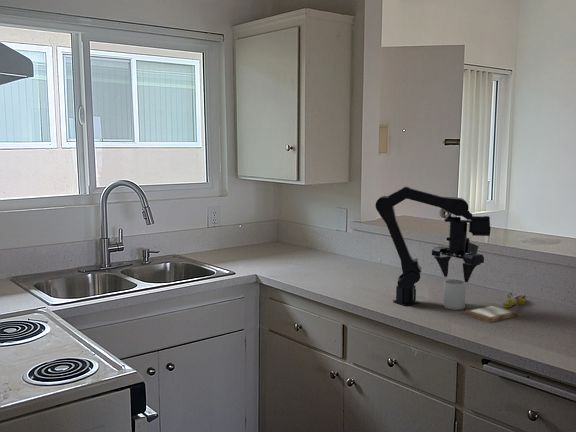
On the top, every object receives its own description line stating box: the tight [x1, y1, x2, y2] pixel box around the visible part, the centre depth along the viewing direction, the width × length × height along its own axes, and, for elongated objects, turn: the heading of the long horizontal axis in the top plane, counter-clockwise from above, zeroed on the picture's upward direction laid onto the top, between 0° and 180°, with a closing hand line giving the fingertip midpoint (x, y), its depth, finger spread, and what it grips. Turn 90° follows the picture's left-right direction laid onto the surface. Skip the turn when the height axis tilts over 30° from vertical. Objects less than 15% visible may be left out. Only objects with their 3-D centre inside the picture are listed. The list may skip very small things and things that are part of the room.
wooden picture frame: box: [463, 304, 519, 323], centre depth 189 cm, size 14×10×1 cm
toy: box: [502, 291, 527, 309], centre depth 202 cm, size 5×5×15 cm
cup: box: [442, 279, 467, 311], centre depth 198 cm, size 7×10×9 cm
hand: (455, 279), depth 198 cm, fingers open, 9 cm apart
